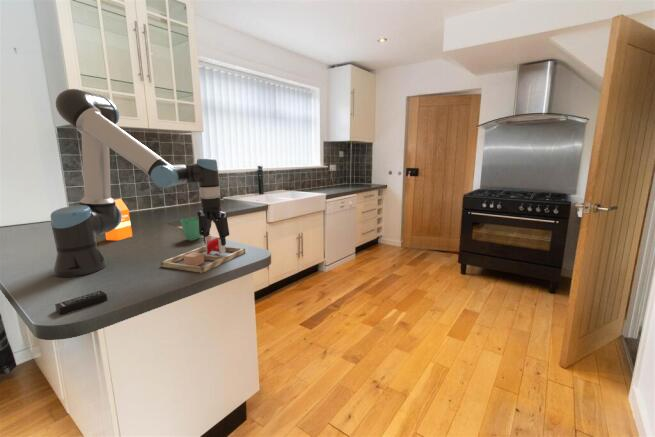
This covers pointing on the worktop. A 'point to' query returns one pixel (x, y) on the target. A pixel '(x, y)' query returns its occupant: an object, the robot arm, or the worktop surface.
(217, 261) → the rack
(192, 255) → the block
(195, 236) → the mug
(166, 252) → the worktop surface
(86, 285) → the worktop surface
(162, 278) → the worktop surface
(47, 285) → the worktop surface
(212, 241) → the red rounded oval lump
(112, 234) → the orange juice
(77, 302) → the multiport hub
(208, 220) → the robot arm
